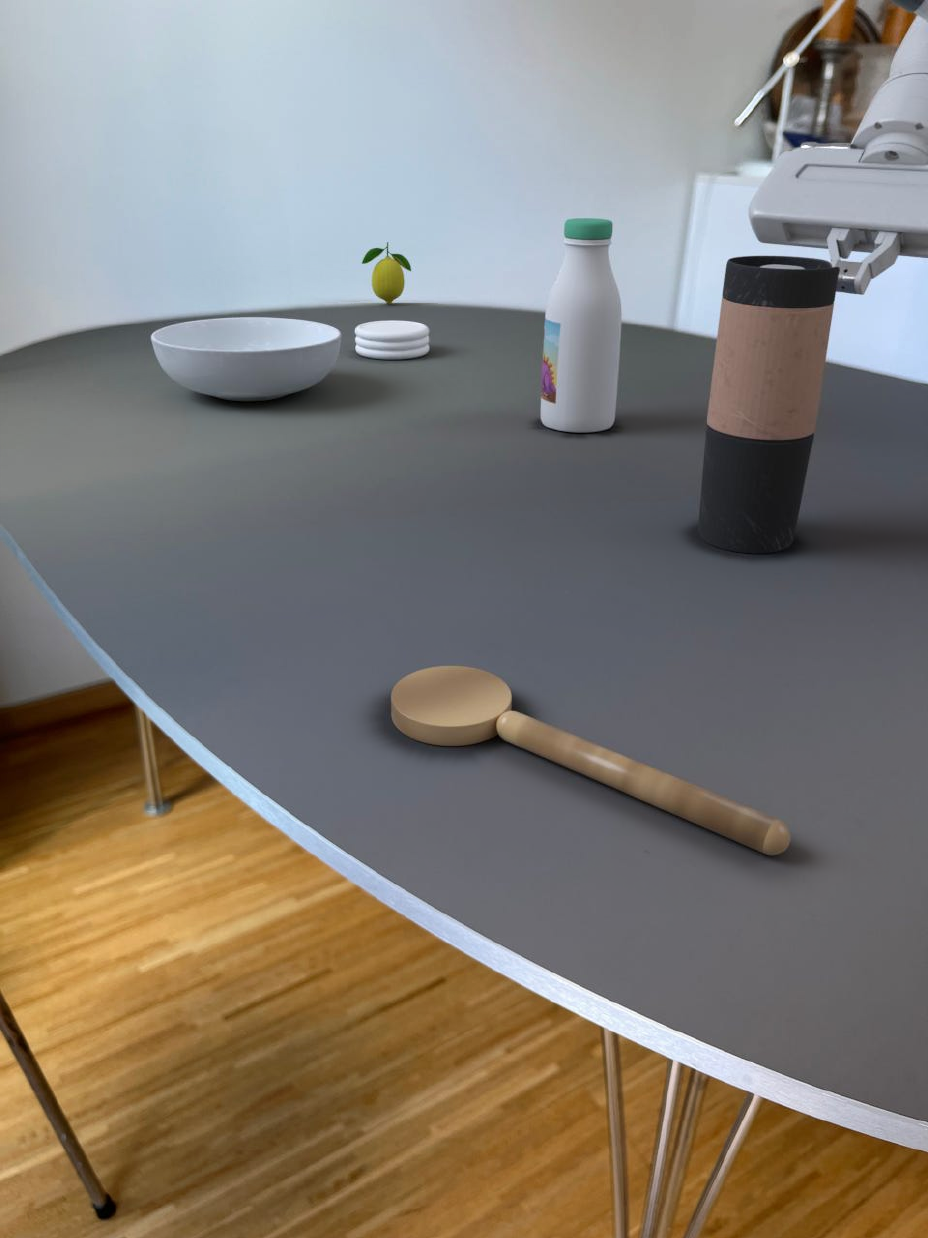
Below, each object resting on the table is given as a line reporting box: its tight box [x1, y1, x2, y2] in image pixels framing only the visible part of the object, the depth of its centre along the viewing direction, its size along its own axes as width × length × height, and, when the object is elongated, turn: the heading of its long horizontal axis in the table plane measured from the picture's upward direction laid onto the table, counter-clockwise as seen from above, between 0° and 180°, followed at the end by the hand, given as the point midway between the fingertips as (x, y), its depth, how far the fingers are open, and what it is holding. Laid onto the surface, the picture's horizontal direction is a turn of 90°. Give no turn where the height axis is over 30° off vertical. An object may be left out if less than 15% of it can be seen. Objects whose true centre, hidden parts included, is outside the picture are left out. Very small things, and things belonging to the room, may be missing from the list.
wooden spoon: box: [390, 665, 792, 856], centre depth 50 cm, size 22×6×2 cm, turn 51°
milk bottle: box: [540, 217, 623, 433], centre depth 103 cm, size 8×8×20 cm
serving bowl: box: [150, 316, 343, 402], centre depth 117 cm, size 21×21×7 cm
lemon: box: [361, 241, 412, 305], centre depth 173 cm, size 7×6×10 cm
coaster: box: [354, 320, 430, 361], centre depth 139 cm, size 10×10×4 cm
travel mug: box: [697, 255, 840, 554], centre depth 75 cm, size 8×8×20 cm
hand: (842, 287), depth 80 cm, fingers closed
